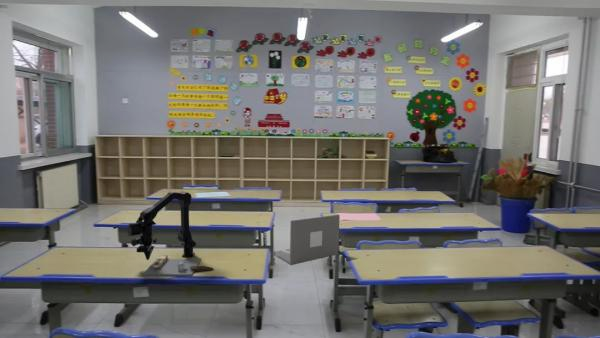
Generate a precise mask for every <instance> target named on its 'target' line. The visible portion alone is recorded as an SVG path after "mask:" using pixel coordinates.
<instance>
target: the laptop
mask: <svg viewBox="0 0 600 338" xmlns="http://www.w3.org/2000/svg"><path fill="white" fill-rule="evenodd" d="M340 217H341V216H340V214H334V215H326V216H324V215H323V216H317V217H309V218H303V219H302V218H301V219H294V220H293V219H292V220H290V231H289V233H290V236H289V237H290V239H289V241H290V242H289V245H290V246H289V249H286V251H287V252H286V251H282V250H277V251H273V256H274V257H276V258H277V259H280V260H281V261H282V262H284V263H286V264H288V265H290V266H294V265H298V264H302V263H307V262H312V261H316V260H319V259H324V258H328V257H329V258H330V257H332V256H337V255H339V243H340ZM288 252H289V253H288Z"/></svg>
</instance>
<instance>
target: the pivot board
mask: <svg viewBox="0 0 600 338" xmlns="http://www.w3.org/2000/svg"><path fill="white" fill-rule="evenodd" d="M158 260H159V258H156V259H154V260H153V262H152V263H151V264H150V265H149V266H148V268H146V269H145V271H143V273H142V277H192V276H193V275H194V273H195V272H196V270H192V269H190V266H199V264H200V262H201V260H202V258H168V259H167V260H166V261H165V262H164V263H163V265H162V266H161V268H159V269H153V264H154V263H155V262H157V261H158ZM180 262H186V263H185V264H184V271H178V264H179V263H180Z"/></svg>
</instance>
